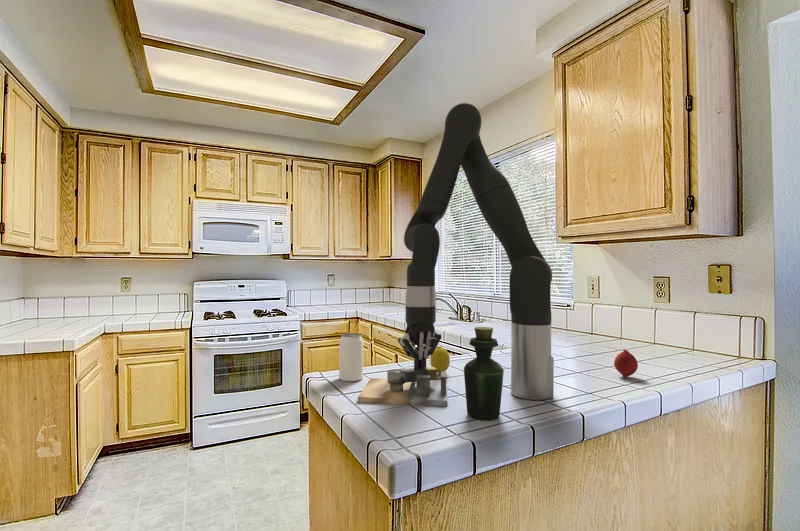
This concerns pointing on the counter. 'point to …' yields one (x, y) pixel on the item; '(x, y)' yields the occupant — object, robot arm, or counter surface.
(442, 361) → the lemon
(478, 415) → the potion bottle
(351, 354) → the can
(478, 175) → the robot arm
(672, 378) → the counter surface
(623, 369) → the onion
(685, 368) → the counter surface
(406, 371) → the swing bar
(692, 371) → the counter surface
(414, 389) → the board
